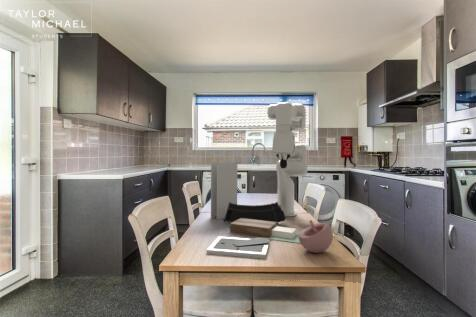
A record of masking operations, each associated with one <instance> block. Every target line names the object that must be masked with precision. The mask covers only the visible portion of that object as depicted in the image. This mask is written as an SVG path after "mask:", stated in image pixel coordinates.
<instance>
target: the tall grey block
mask: <svg viewBox="0 0 476 317" xmlns="http://www.w3.org/2000/svg"><path fill="white" fill-rule="evenodd" d="M210 163H211V164H210V218H211V217H213V218H216V220H217V219H218V220H222V218H223V219H225V215H226V212H227V209H228V205H229V202H231V203H233V204H238V162H237V161H214V162H213V161H212V162H210Z"/></svg>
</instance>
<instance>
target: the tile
mask: <svg viewBox="0 0 476 317" xmlns="http://www.w3.org/2000/svg"><path fill="white" fill-rule="evenodd" d="M296 232H297V228H293V227H287V226H279V225H277V226H276V227H275V228H274V229H272V233H271V236H277V237H284V238H291V239H292V238H293V237H294V236H295V235H296Z"/></svg>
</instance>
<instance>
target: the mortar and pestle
mask: <svg viewBox="0 0 476 317" xmlns="http://www.w3.org/2000/svg"><path fill="white" fill-rule="evenodd" d="M309 224H310V225H309V226H308V227H306V228H304V229H302V230H301V231H299V232H300V233H299V234H298V238H299V241H300V243H301V244H300V245H301V246H302V247H303V248H304V249H305V250H306V251H308V252H310V253H314V254H315V253H316V254H318V253H323V252H325V251H327V249H329V248H330V247H331V245H332V242H333V239H334V238H333V231H332V229H331V228H332V227H330V225H329V224H328V223H327V222H318V223H315V224H314V222H313V220H312V219H310V220H309Z"/></svg>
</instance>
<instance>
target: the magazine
mask: <svg viewBox="0 0 476 317" xmlns="http://www.w3.org/2000/svg"><path fill="white" fill-rule="evenodd" d="M279 205H280V204H279ZM279 205H278V202H277V201H276V202H273V203H268V204H262V205H261V204H257V205H256V204H255V205H252V204H251V205H250V204H238V203H237V204H233V203H231V202H229V205H228V209H227V212H226V215H225V218H223V222H228V223H232V222H234V221H236V220H238V219H240V218H246V219H255V220H264V221H272V222H277V225H279V223H281V222H284V221H285V220H286V216H285V215H284V211H283V210H282V207H281V205H280V206H279Z"/></svg>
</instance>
